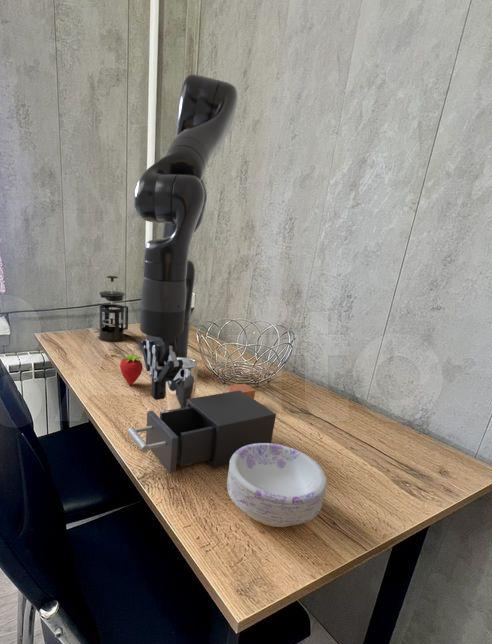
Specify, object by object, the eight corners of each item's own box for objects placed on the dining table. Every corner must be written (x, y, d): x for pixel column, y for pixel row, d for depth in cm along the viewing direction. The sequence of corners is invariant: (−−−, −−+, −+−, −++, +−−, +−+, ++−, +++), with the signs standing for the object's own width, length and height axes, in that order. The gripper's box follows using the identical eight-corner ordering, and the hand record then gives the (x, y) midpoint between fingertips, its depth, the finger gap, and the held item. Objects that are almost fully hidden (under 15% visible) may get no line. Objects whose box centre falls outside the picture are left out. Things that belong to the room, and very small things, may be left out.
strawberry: (135, 378, 115) (136, 345, 111) (146, 388, 109) (147, 353, 105) (115, 380, 112) (116, 347, 109) (125, 391, 106) (126, 356, 103)
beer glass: (190, 432, 88) (196, 369, 83) (159, 427, 89) (163, 365, 84) (194, 418, 94) (200, 358, 89) (166, 414, 96) (169, 355, 90)
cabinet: (214, 468, 76) (219, 426, 73) (183, 437, 86) (186, 399, 83) (269, 453, 82) (276, 414, 79) (234, 426, 92) (239, 390, 89)
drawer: (145, 479, 70) (146, 443, 67) (123, 448, 79) (123, 415, 76) (226, 458, 78) (231, 425, 75) (198, 432, 87) (201, 401, 84)
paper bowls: (259, 553, 57) (267, 509, 54) (208, 489, 70) (212, 450, 67) (338, 527, 63) (350, 485, 60) (278, 472, 76) (285, 435, 73)
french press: (103, 343, 144) (103, 278, 135) (93, 336, 151) (92, 274, 143) (132, 339, 150) (134, 277, 142) (121, 333, 157) (122, 273, 149)
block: (227, 401, 104) (229, 385, 102) (242, 399, 106) (244, 383, 104) (238, 409, 100) (240, 392, 98) (253, 406, 102) (255, 390, 100)
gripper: (202, 313, 63) (193, 410, 70) (166, 296, 74) (160, 381, 80) (159, 316, 60) (154, 417, 66) (128, 297, 71) (125, 386, 77)
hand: (157, 397), depth 73 cm, fingers closed
